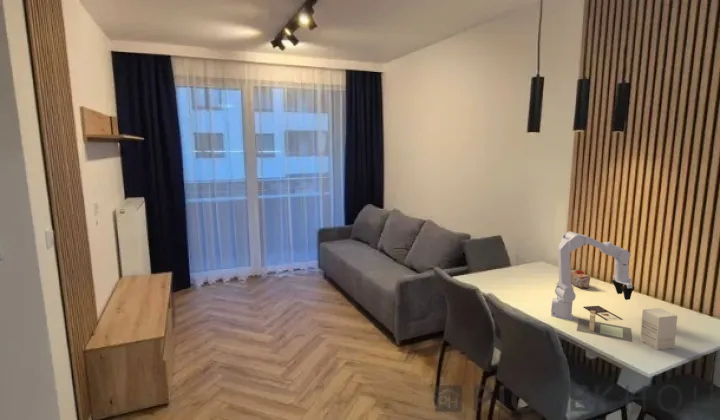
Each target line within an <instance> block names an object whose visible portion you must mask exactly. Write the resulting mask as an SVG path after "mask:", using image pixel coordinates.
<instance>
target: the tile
mask: <svg viewBox="0 0 720 420" xmlns="http://www.w3.org/2000/svg"><path fill="white" fill-rule="evenodd" d="M589 312H590V311H589ZM596 316H597V315H596V311H592V310H591V312H590V314H589V320H590V323H589V331H593V332H594V327H595V322H596Z"/></svg>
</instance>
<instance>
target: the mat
mask: <svg viewBox="0 0 720 420" xmlns="http://www.w3.org/2000/svg"><path fill="white" fill-rule="evenodd" d="M589 323H590V319H589V320H588V319H584V318H578V321H577V327H576V332H580V333H585V334H586V333H587V334H590V335H595V336H601V337H605V338H610V339H615V340H619V341H625V342H630V343H633V334H632V328H631V327H627V326H622V325H617V324H611V323H606V322H601V321H595V327H594V332H593V331H589Z"/></svg>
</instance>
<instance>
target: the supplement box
mask: <svg viewBox="0 0 720 420" xmlns="http://www.w3.org/2000/svg"><path fill="white" fill-rule="evenodd" d="M677 322H678V315H677V314H675V313H672V312H670V311H667V310H665V309H664V308H660V307H657V308H656V307H655V308H646V309H642V315H641V327H640V336H639V339H640V341H641V342H643V343H644V344H646V345H647V346H649V347H651V348H653V350H654V349H655V350H656V351H657V350H658V351H659V350H667V349H674V348H675V344H676V343H675V341H676V333H677Z"/></svg>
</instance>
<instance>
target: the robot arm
mask: <svg viewBox="0 0 720 420" xmlns="http://www.w3.org/2000/svg"><path fill="white" fill-rule="evenodd" d="M587 245H589V246H592V247H594V248H598V249H599V251H600V252H601V253H602V254H605V255H606V256H607V255H608V256H609V257H612V258H614V272H615V273H614V274H613V277H612V278H613V279H612V280H611V282H612V284H613V285H614V288H615V291H616V294H617V295H622V294H623V298H624V300H625V301H627V300H631V296H632V293H633V292H634V290H635V286H634V285H633V283H632V282H631V281H632V280H633V279H632V278H631V277H630V270H629V260H630V258H631V253H630V252H629V250H627V249H625V248H622V247H621V246H620V245H615V244H613V242H611V241H604V242H601V241H599V240H597V239H595V238H593V237H590V236H588V235H584V234H581V233H578V232H574V231H570V230H569V231H567V232H565V233H563V235H561V241H560V243H559V245H558V247H557V261H558V262H557V265H558V281H557V282H556V285H555V286H556V287H555V288H554V294H556V297H555V298H554V297H553V298H552V300H551V308H550V312H551V313H550V317H551V318H552V317H553V318H559V319H563V320H567V321H568V320H569V321H573V316H574V314H572V313H573V302H574V301H575V299H576V296H577V295H576V293H575V290H574V286H573V284H571V273H570V271H571V253H573V251H575V250H577V249H579V248H582V247H583V246H587Z"/></svg>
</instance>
